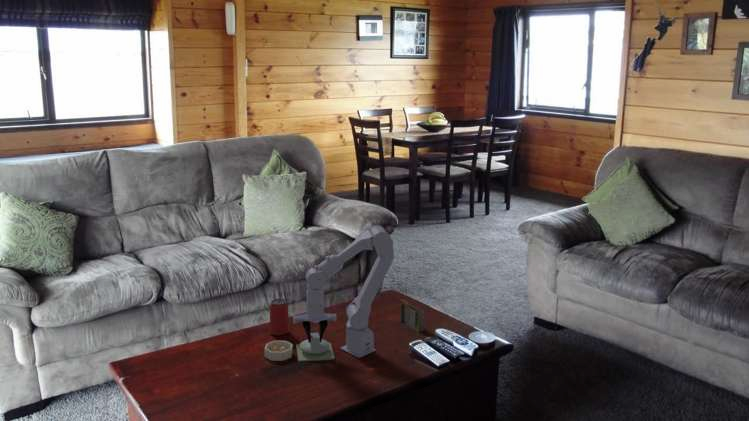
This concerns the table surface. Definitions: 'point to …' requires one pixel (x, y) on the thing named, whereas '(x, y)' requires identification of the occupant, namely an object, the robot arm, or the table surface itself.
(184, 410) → the table surface
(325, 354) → the mat
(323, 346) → the lid
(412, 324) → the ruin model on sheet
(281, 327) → the beer can
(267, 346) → the bowl
